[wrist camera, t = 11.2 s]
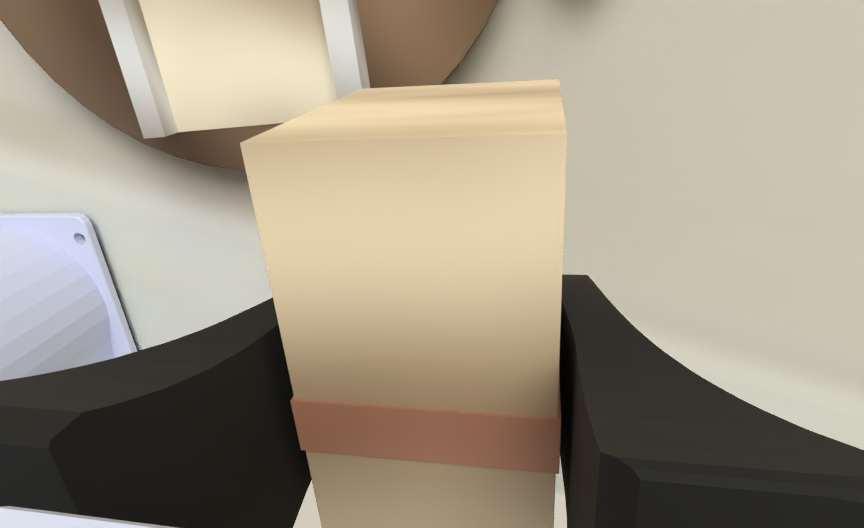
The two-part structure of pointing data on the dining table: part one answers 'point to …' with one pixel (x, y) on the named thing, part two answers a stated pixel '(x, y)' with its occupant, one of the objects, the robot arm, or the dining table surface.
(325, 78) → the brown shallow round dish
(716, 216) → the dining table surface
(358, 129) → the oak link block
